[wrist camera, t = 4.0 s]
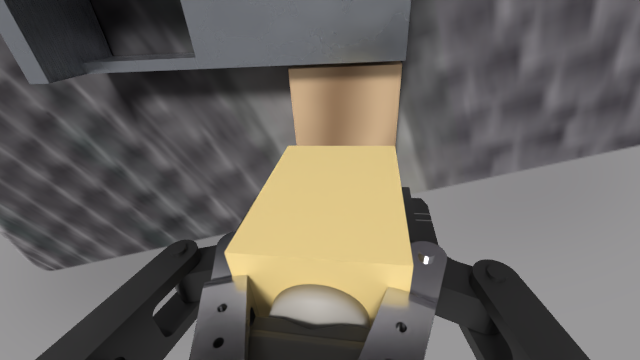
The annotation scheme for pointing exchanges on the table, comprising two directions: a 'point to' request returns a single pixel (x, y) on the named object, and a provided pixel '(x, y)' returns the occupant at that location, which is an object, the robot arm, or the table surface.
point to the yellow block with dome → (326, 237)
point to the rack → (209, 36)
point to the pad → (346, 103)
